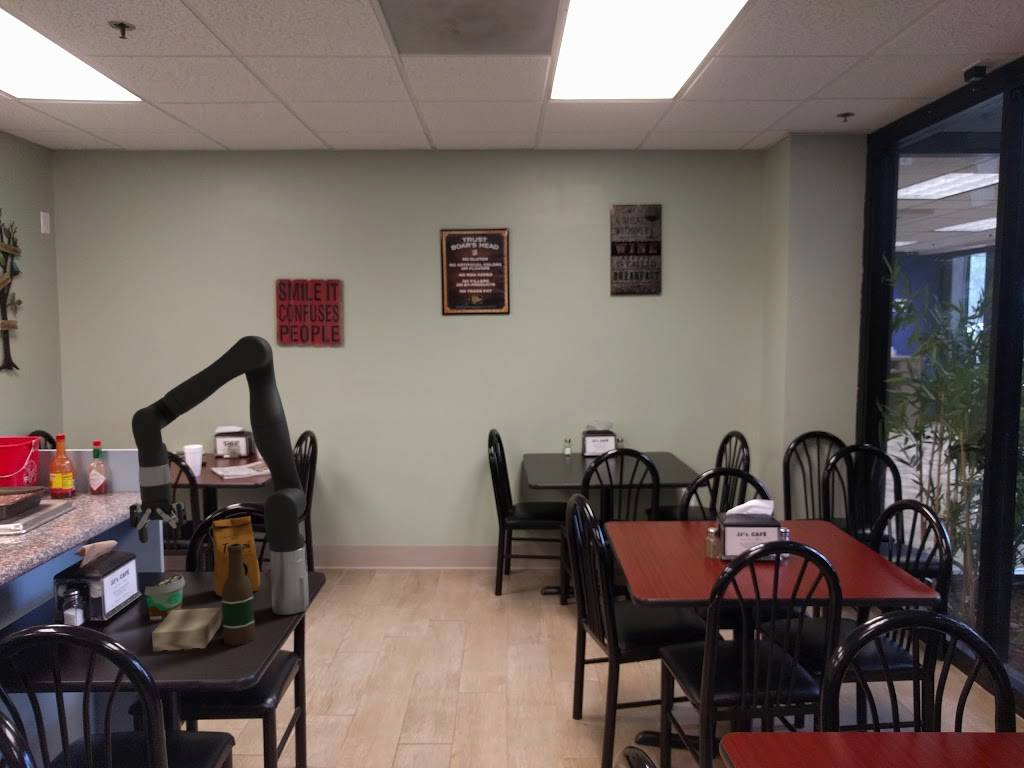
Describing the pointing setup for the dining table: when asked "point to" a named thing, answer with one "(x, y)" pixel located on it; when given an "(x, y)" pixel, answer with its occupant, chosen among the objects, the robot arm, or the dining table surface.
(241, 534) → the coffee package
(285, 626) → the dining table surface
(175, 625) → the birch block
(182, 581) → the food container
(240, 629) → the beer bottle
